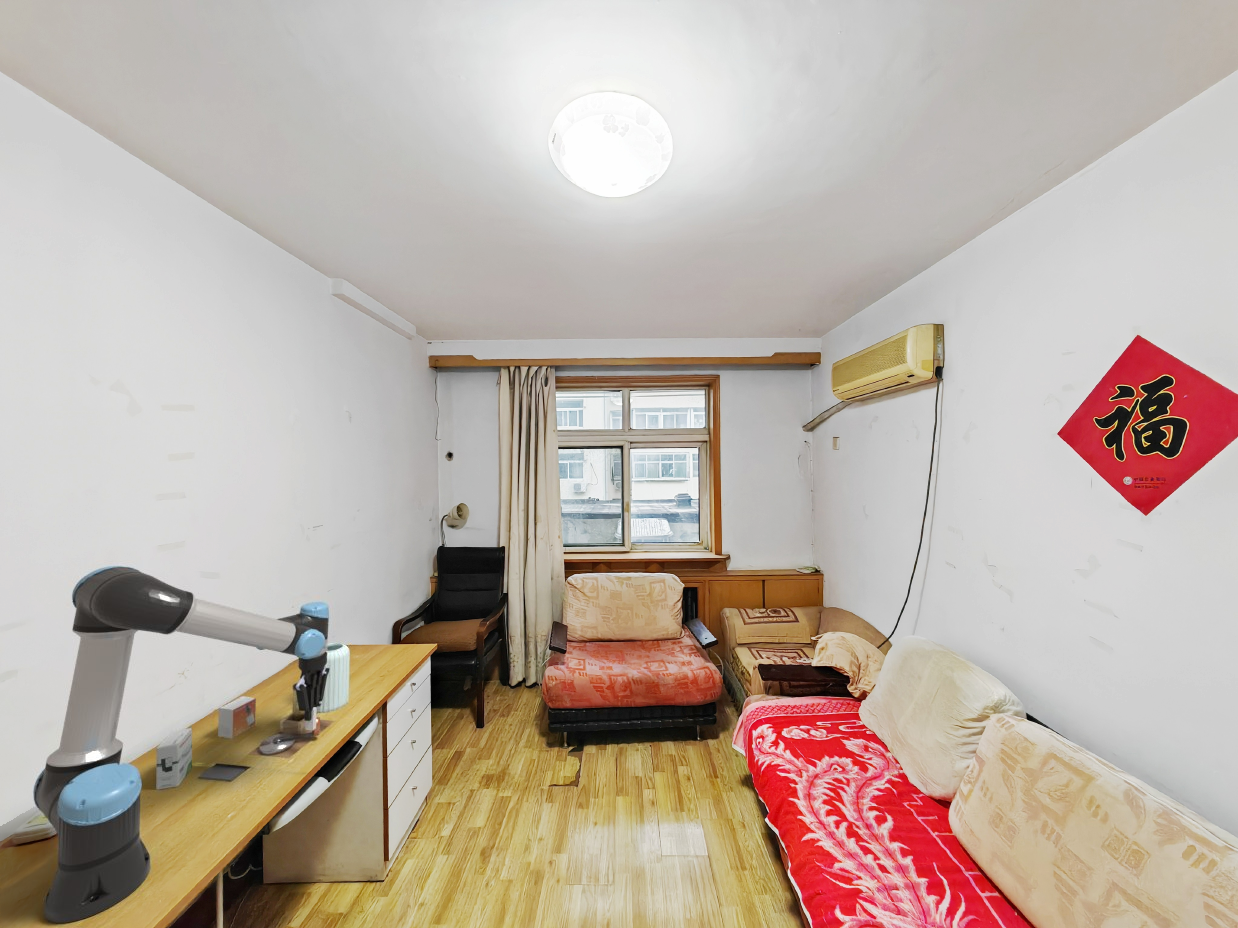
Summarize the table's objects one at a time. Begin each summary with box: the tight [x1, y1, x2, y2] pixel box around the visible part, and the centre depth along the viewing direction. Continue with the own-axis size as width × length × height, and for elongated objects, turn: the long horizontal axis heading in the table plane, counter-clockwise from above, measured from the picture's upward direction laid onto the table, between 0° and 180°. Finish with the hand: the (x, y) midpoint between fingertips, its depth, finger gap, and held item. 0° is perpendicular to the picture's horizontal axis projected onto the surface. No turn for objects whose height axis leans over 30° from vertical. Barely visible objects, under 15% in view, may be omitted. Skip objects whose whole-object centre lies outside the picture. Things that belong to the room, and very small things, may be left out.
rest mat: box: [197, 762, 251, 782], centre depth 140 cm, size 10×10×1 cm
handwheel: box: [258, 716, 321, 755], centre depth 149 cm, size 9×16×6 cm, turn 115°
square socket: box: [279, 712, 318, 734], centre depth 159 cm, size 7×7×4 cm
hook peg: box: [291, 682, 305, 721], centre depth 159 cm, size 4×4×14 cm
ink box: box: [155, 727, 193, 790], centre depth 135 cm, size 9×5×12 cm, turn 21°
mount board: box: [248, 719, 335, 759], centre depth 153 cm, size 20×13×2 cm, turn 175°
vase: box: [317, 642, 351, 713], centre depth 173 cm, size 12×12×22 cm
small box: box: [217, 695, 257, 739], centre depth 156 cm, size 8×6×10 cm
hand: (310, 728), depth 151 cm, fingers closed
